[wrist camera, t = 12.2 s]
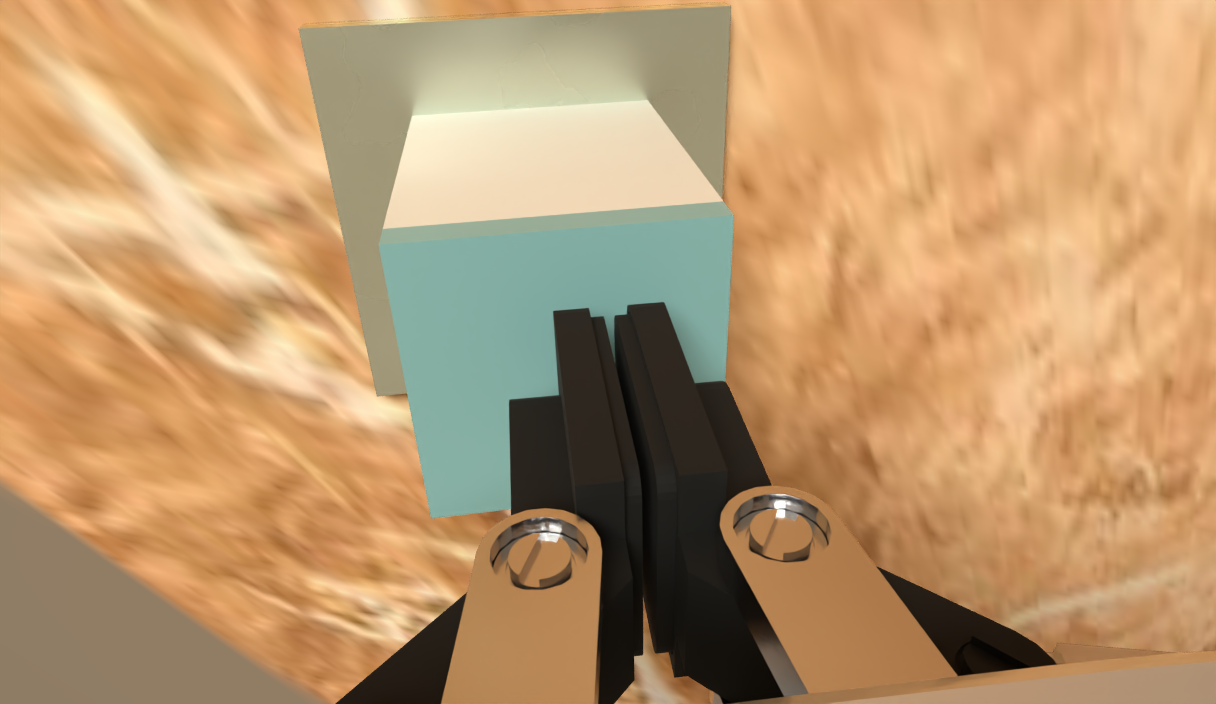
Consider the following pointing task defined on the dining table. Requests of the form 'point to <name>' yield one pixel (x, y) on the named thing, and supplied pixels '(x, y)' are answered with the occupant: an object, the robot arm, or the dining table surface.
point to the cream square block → (496, 102)
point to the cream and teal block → (537, 267)
